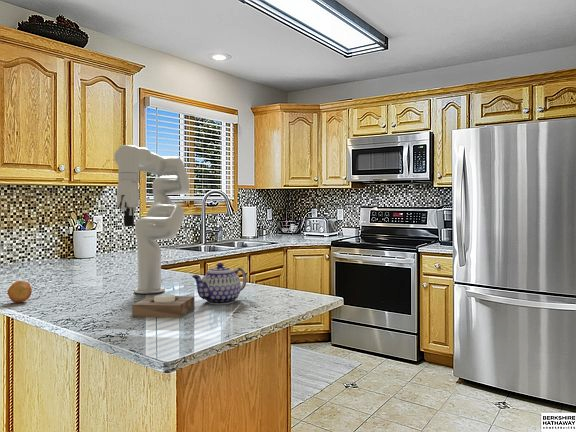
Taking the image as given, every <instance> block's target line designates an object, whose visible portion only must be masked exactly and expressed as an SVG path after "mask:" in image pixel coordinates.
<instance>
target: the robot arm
mask: <svg viewBox="0 0 576 432" xmlns="http://www.w3.org/2000/svg"><path fill="white" fill-rule="evenodd" d="M114 162H115V163H116V165H117V168H118V169H117V170H118V171H117V174H118V177H117V180H118V183H117V188H116V189H117V191H116V207H117V208H120V211H122V212H123V226H124V227H134V231H135V236H136V244H137V287H136V288H134V289H133V292H134V293H135V294H158V293H162V292H165V291H166V289H165V287H164V286H162V283H163V279H162V250H161V246H160V245H159V244H158V242H157V241H156V240H160V241H161V240H172V239H175V237H177V235H178V232H179V230H180V229H181V226H182V224H183V221H184V219H185V213H184V209H183V207H182V206H181V204H177V203H173V201H172V200H171V198H170V197H169V195H182V194H183V195H184V194H188V192H189V191H190V179H189V177H188V173H187V170H186V168H185V164H184V162H183V160H182V159H181V158H180V157H179V156H161V155H159V154H157V153H154V152H152V151H151V150H150V149H149V148H146V147H138V146H136V145H134V144H133V145H132V144H130V145H129V144H122V145H120V146H119V147H118V149H116V150H115V152H114ZM140 172H144V173H149V174H153V175H157V176H158V177H156V178H155V179H154V180H153V181H152V186H151V187H152V196H153V202H152V204H151V205H150V207H149V209H148V210H147V212H146V216H144V217H140V218H138V219H137V220H136V222H135V211H137V208H138V207H139V205H140V194H139V193H140V192H139V182H140Z"/></svg>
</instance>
